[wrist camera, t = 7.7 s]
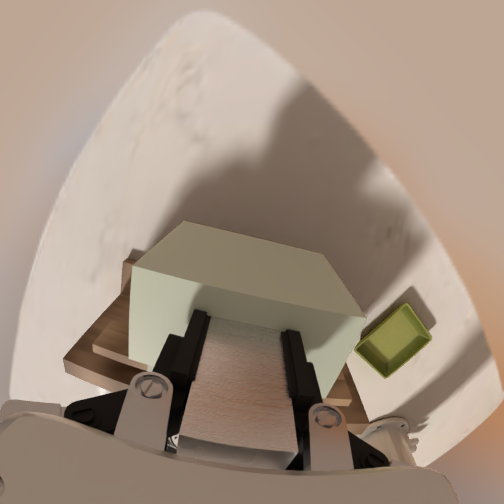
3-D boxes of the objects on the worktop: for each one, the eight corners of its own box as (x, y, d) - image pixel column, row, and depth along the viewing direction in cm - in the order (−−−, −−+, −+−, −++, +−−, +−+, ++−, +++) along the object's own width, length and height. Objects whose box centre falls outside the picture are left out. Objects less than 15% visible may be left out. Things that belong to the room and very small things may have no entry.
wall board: (347, 310, 32) (392, 391, 18) (331, 348, 33) (361, 434, 20) (127, 258, 30) (56, 318, 17) (124, 300, 32) (65, 372, 18)
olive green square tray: (400, 294, 31) (407, 301, 29) (426, 331, 33) (433, 338, 31) (348, 340, 33) (352, 349, 31) (380, 370, 35) (385, 379, 33)
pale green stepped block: (322, 253, 20) (428, 420, 6) (288, 350, 22) (312, 523, 8) (183, 220, 19) (45, 352, 5) (168, 324, 22) (95, 486, 8)
